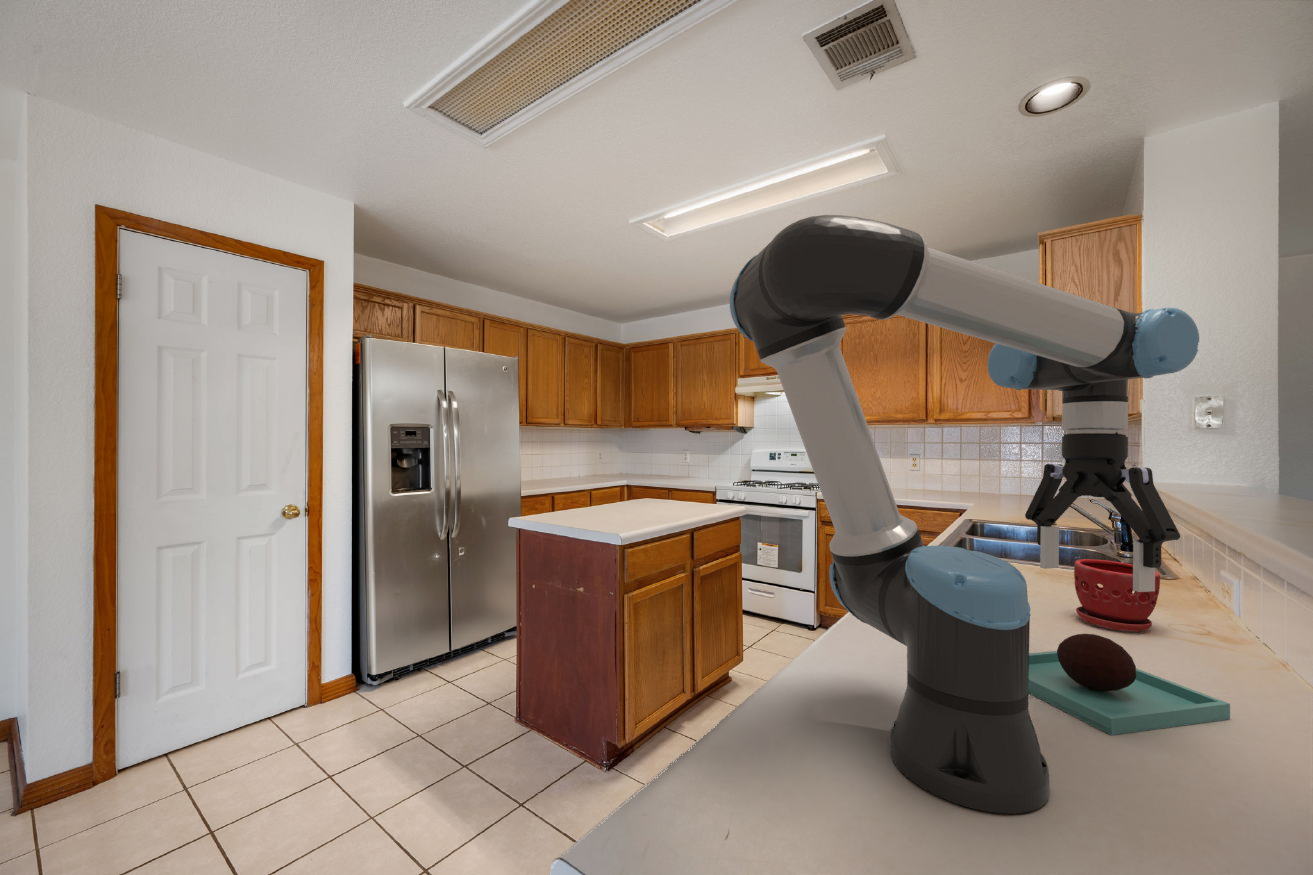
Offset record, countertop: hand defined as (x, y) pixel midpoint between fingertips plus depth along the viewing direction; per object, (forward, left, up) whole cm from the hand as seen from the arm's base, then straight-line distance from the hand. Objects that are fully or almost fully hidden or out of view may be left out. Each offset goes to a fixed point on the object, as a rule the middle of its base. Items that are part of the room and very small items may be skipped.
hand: (1092, 578), depth 79 cm
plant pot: (+34, +23, -17) cm, 45 cm away
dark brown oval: (0, 0, -16) cm, 16 cm away
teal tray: (0, 0, -17) cm, 17 cm away
